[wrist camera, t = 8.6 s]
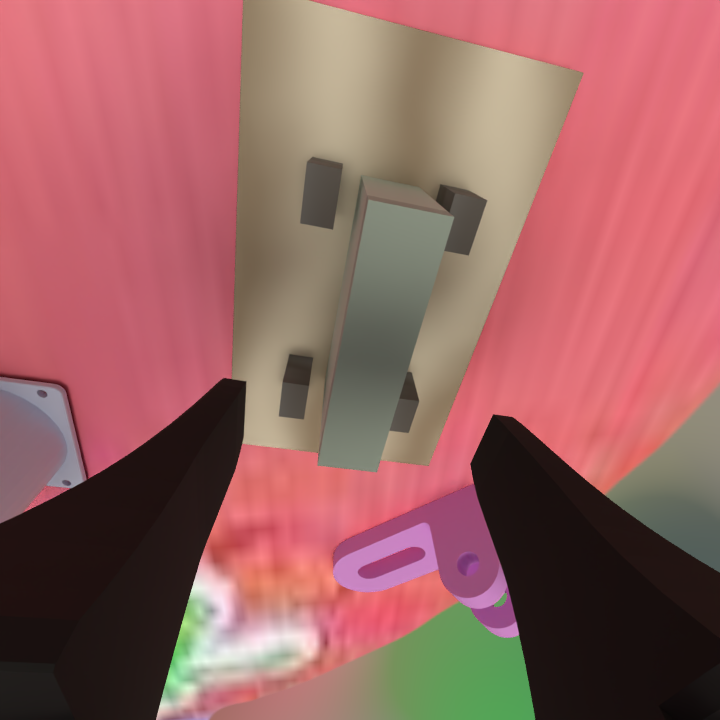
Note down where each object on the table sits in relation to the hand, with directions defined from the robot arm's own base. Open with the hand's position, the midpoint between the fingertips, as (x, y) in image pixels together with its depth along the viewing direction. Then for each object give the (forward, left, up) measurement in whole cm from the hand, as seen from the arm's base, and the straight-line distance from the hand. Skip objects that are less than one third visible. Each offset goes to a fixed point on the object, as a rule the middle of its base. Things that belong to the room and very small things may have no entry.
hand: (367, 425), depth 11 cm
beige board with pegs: (0, +1, -9) cm, 9 cm away
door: (0, +1, -8) cm, 8 cm away
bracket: (+8, -18, -10) cm, 22 cm away
